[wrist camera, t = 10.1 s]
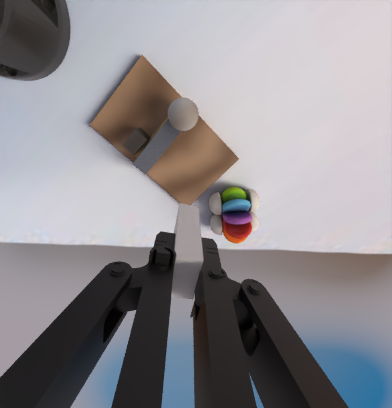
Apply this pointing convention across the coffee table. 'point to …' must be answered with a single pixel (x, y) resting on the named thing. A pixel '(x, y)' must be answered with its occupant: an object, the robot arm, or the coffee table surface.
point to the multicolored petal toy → (234, 213)
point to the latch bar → (156, 147)
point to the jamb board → (152, 122)
